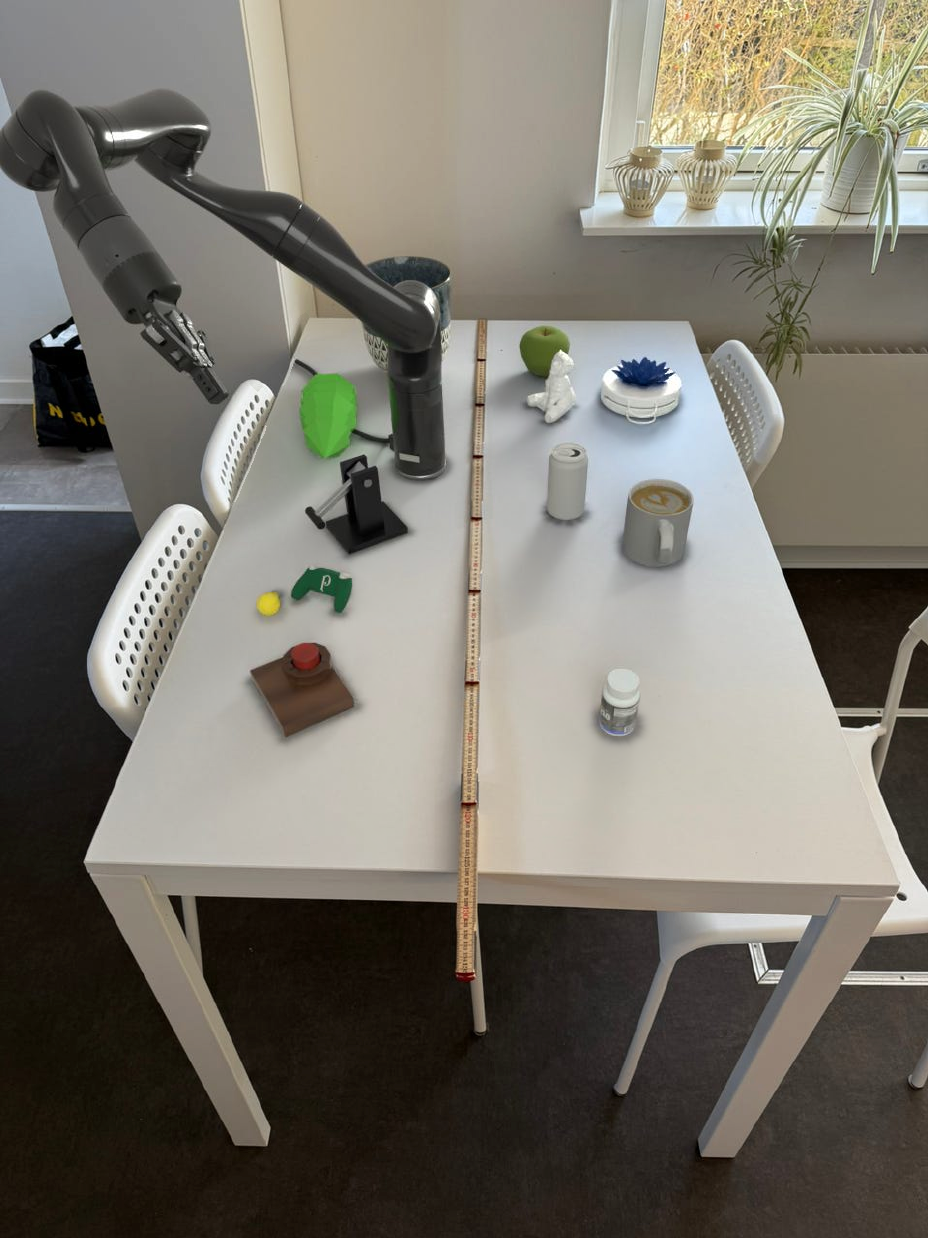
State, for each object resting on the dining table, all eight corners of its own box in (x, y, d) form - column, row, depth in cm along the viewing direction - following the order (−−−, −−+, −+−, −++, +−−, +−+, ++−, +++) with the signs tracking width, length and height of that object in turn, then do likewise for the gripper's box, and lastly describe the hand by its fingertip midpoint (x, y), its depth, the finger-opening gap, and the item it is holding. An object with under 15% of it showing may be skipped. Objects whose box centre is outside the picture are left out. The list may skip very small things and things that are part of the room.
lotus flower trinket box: (604, 348, 177) (602, 395, 163) (681, 351, 176) (685, 399, 161) (602, 379, 182) (599, 427, 168) (676, 382, 180) (680, 431, 166)
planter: (454, 394, 179) (450, 292, 165) (361, 395, 180) (349, 294, 165) (455, 351, 193) (452, 254, 179) (369, 353, 194) (359, 256, 179)
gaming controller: (350, 615, 132) (361, 578, 132) (339, 613, 128) (350, 574, 128) (299, 600, 135) (310, 563, 135) (287, 597, 131) (298, 559, 131)
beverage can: (582, 524, 145) (587, 463, 136) (544, 521, 146) (546, 460, 138) (585, 503, 149) (590, 442, 141) (548, 499, 150) (551, 439, 142)
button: (289, 658, 118) (287, 649, 117) (313, 648, 119) (311, 639, 118) (299, 674, 116) (297, 665, 114) (324, 664, 117) (322, 654, 116)
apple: (521, 360, 190) (522, 316, 183) (569, 362, 188) (571, 318, 182) (516, 383, 182) (517, 338, 175) (566, 386, 180) (569, 340, 174)
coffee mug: (623, 526, 144) (630, 475, 137) (684, 532, 142) (693, 481, 136) (618, 577, 134) (625, 525, 128) (683, 584, 133) (693, 532, 126)
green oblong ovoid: (341, 347, 169) (336, 419, 146) (369, 396, 176) (368, 472, 153) (291, 372, 171) (278, 446, 148) (320, 419, 178) (313, 497, 155)
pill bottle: (595, 711, 114) (600, 667, 108) (630, 708, 114) (637, 664, 109) (602, 739, 111) (608, 695, 105) (638, 736, 111) (646, 692, 105)
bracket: (348, 554, 140) (339, 489, 132) (326, 527, 146) (315, 462, 137) (408, 532, 144) (402, 467, 136) (383, 506, 150) (376, 442, 141)
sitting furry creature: (524, 404, 175) (525, 348, 167) (560, 393, 178) (563, 338, 170) (548, 424, 169) (551, 367, 161) (585, 413, 172) (589, 357, 164)
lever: (322, 532, 137) (313, 524, 136) (310, 517, 141) (301, 509, 139) (377, 480, 137) (369, 471, 135) (363, 465, 140) (355, 457, 138)
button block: (252, 681, 120) (247, 660, 117) (320, 653, 124) (316, 633, 121) (285, 737, 112) (280, 717, 110) (356, 706, 116) (352, 686, 113)
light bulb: (259, 622, 129) (249, 601, 127) (271, 605, 134) (262, 585, 133) (279, 617, 128) (270, 596, 127) (290, 599, 133) (281, 579, 132)
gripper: (125, 237, 90) (223, 378, 92) (180, 260, 103) (265, 383, 105) (74, 281, 92) (171, 419, 94) (134, 298, 105) (219, 419, 107)
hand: (220, 400), depth 100 cm, fingers closed
